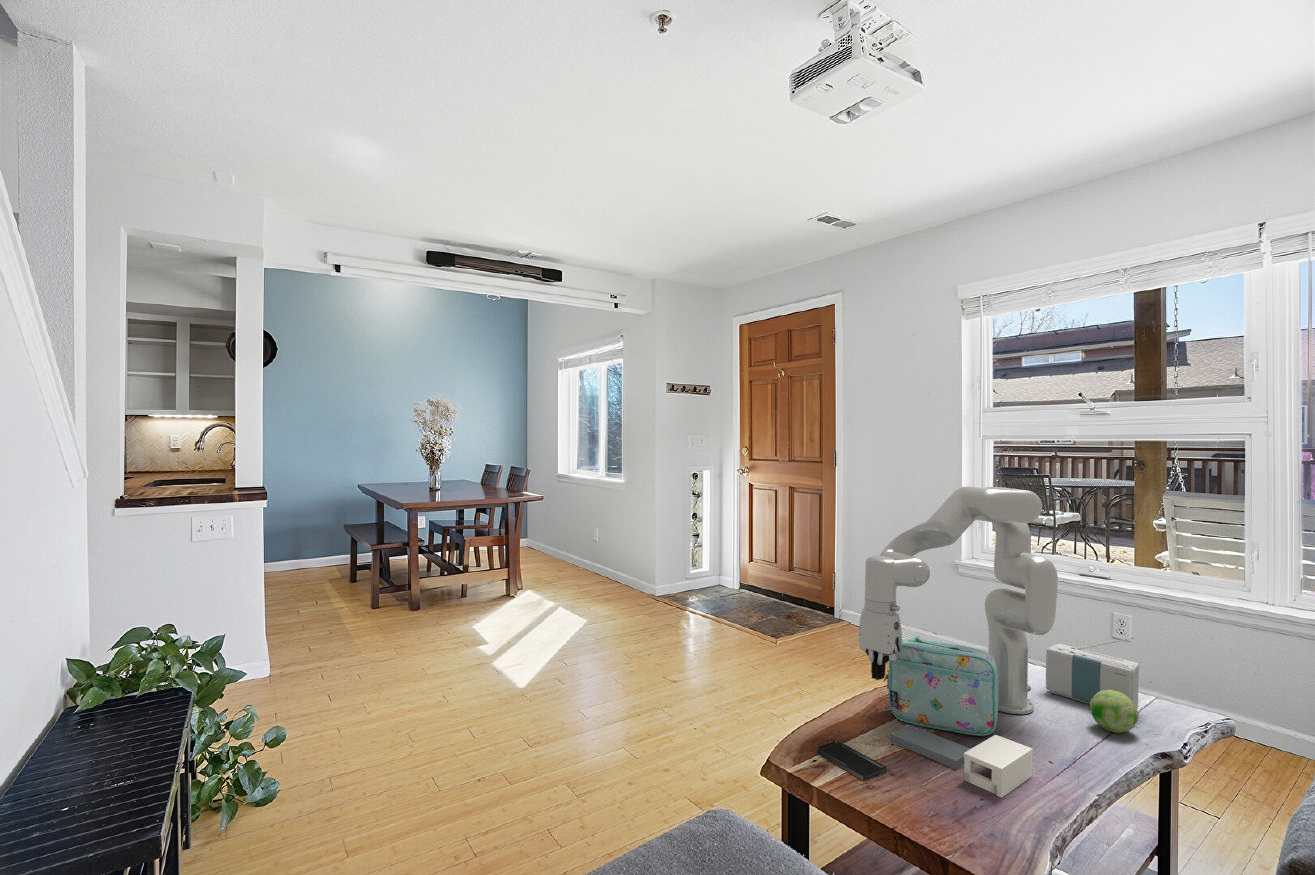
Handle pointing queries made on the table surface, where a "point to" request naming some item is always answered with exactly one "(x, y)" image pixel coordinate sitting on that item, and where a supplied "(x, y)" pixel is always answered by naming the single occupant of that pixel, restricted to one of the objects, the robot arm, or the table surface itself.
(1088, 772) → the table surface
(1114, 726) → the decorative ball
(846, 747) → the phone
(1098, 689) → the stereo radio cassette player
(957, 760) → the slate board
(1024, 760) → the white hollow box
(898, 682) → the lunch box
